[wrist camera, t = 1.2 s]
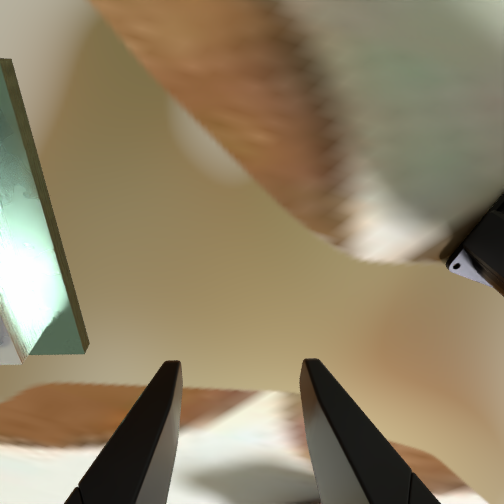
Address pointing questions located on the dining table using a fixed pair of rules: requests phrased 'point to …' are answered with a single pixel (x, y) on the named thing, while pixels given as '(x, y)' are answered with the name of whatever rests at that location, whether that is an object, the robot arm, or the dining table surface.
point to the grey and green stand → (30, 246)
